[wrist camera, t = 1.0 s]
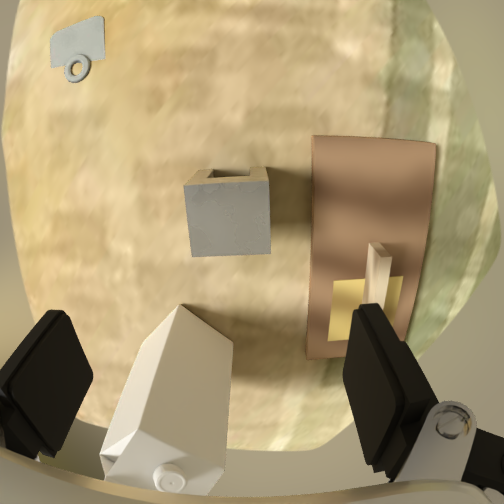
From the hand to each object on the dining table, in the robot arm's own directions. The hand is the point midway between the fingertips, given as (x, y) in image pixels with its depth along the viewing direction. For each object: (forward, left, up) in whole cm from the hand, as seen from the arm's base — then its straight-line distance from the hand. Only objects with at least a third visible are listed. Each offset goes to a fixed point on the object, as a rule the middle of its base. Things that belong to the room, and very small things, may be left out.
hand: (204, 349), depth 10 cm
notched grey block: (0, 0, -18) cm, 18 cm away
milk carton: (+15, -6, -18) cm, 24 cm away
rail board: (+6, +12, -18) cm, 23 cm away
